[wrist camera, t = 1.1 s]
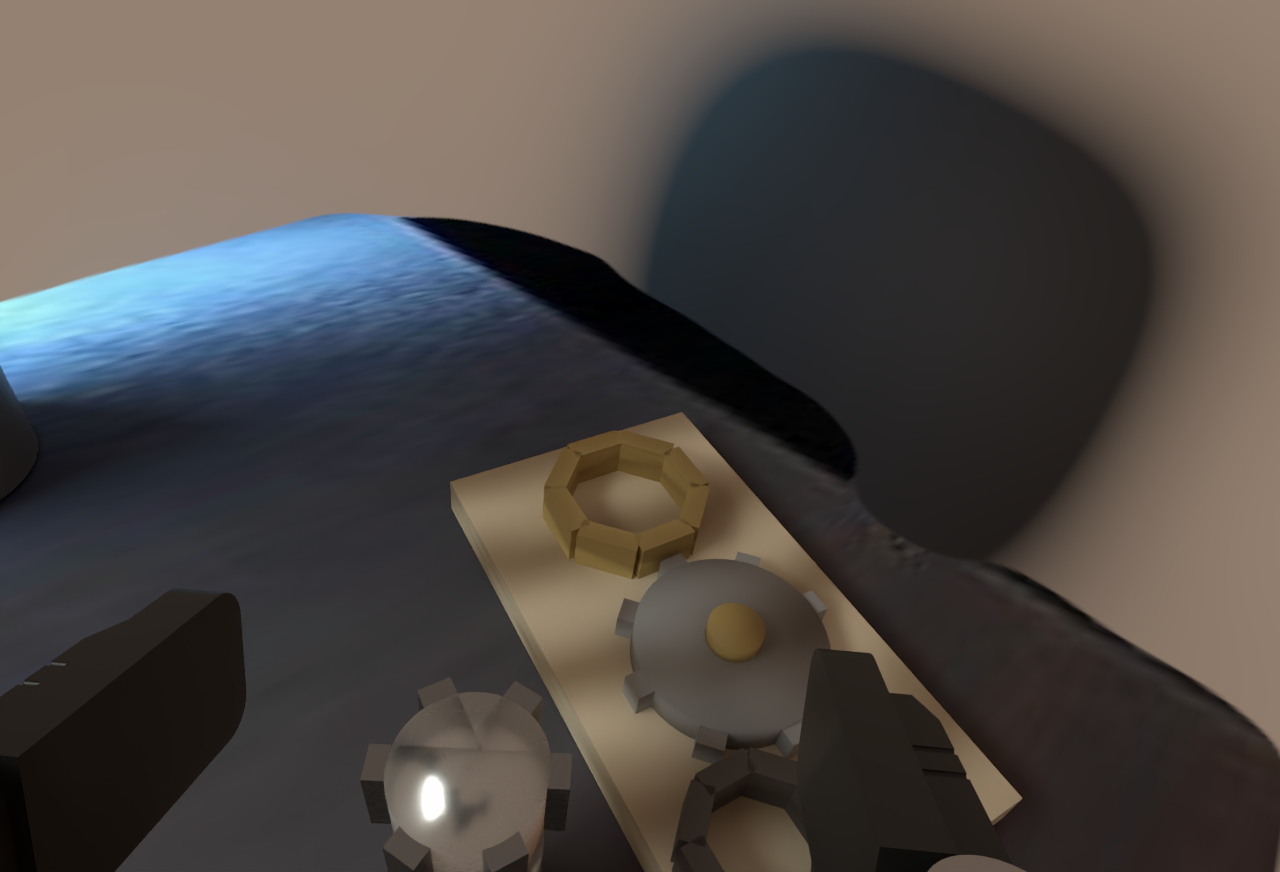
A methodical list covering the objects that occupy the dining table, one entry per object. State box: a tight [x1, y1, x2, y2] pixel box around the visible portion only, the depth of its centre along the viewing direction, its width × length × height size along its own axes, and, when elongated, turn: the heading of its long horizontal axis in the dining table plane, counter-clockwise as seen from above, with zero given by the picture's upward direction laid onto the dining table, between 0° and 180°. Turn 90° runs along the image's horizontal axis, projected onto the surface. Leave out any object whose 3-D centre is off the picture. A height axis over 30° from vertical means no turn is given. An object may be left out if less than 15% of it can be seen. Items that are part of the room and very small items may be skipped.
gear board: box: [450, 412, 1023, 872], centre depth 35 cm, size 25×14×4 cm, turn 30°
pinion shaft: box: [360, 677, 572, 872], centre depth 23 cm, size 5×5×12 cm
